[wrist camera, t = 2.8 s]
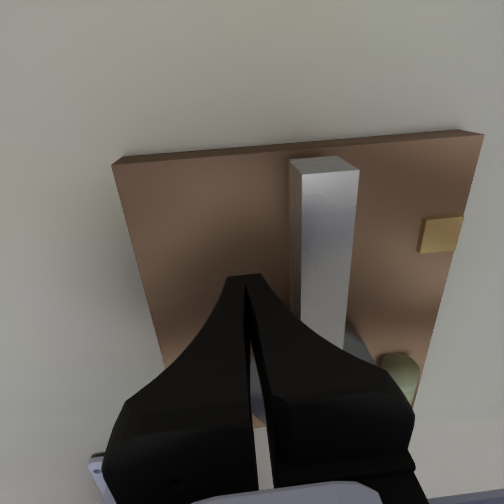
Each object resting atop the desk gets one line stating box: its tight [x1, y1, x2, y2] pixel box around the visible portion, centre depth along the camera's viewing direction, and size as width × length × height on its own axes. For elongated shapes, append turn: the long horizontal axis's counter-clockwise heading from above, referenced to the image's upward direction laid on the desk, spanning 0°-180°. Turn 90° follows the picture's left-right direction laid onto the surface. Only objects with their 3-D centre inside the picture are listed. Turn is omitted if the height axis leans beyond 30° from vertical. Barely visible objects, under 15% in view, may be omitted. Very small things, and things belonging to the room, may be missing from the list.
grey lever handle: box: [250, 156, 376, 424], centre depth 13 cm, size 13×6×3 cm, turn 4°
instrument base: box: [111, 130, 484, 428], centre depth 15 cm, size 16×14×3 cm
